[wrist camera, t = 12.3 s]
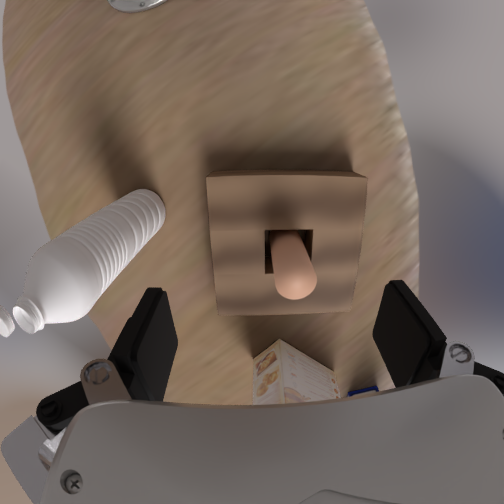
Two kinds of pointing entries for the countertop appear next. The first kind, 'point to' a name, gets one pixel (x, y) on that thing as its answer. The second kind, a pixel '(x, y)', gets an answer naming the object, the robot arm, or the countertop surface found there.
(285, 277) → the peg
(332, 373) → the coffeecake box
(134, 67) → the countertop surface
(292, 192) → the socket block
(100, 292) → the water bottle
